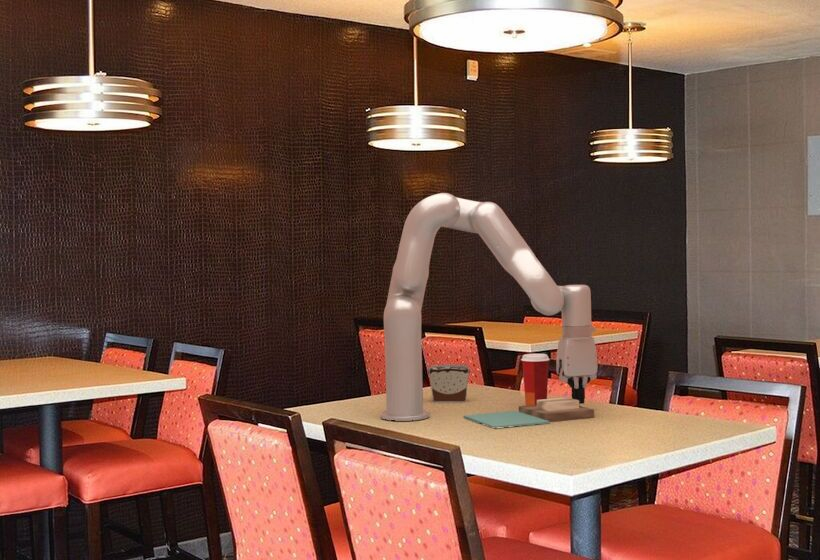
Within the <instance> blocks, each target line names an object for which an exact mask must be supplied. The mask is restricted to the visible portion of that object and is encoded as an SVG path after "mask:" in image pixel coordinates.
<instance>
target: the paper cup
mask: <svg viewBox="0 0 820 560" xmlns="http://www.w3.org/2000/svg"><path fill="white" fill-rule="evenodd" d="M520 361H522V373H523V374H522V375H523V376H522V377H523V385H524V387H523V388H524V399H525V406H529V405H537V400H542V399H548V386H549V385H548V382H549V361H550V358H549V356H548V354H546V353H526V354H523V355H522V356H521V359H520Z"/></svg>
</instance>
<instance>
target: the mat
mask: <svg viewBox="0 0 820 560" xmlns="http://www.w3.org/2000/svg"><path fill="white" fill-rule="evenodd" d="M463 419H465V420H469V421H471V420H472V421H471V422H474V421H475V422H474V423H476V422H478V423H477V424H479V423H482V424H485V425H488V426H491V427H494V428H497V427H509V426H521V427H523V426H522V425H531V426H536V425H535V424H541V425H549V424H550V423H551V422H550V421H547V420H544V419H541V418H538V417H534V416H531V415H528V414H525V413H521V412H519V410H509V411H498V412H489V413H487V412H486V413H478V414H477V413H476V414H466V415H463ZM482 424H481V425H482ZM485 425H484V426H485ZM488 426H487V427H488Z"/></svg>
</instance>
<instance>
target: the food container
mask: <svg viewBox="0 0 820 560" xmlns="http://www.w3.org/2000/svg"><path fill="white" fill-rule="evenodd" d="M426 373H427V374H426V375H429V380H430V387H431V388H430V389H431V396H432V402H433V403H467V394H468V382H469V374H470V375H471V370H470V368H469V365H466V364H438V365H437V364H435V365H431V366H429V367H428V369H427V372H426Z"/></svg>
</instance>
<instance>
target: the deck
mask: <svg viewBox="0 0 820 560" xmlns="http://www.w3.org/2000/svg"><path fill="white" fill-rule="evenodd" d="M518 412H521V413H525V414H528V415H531V416H534V417H538V418H541V419H544V420H547V421H550V423H552V422H554V423H555V422H561V421H563V422H564V421H572V420H584V419H594V418H595V409H593V408H589V407H585V406H582V405H579V408H575V409H565V410H554V411H547V410H543V409H540V408H537V405H529V406H526V405H521V406H518Z"/></svg>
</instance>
